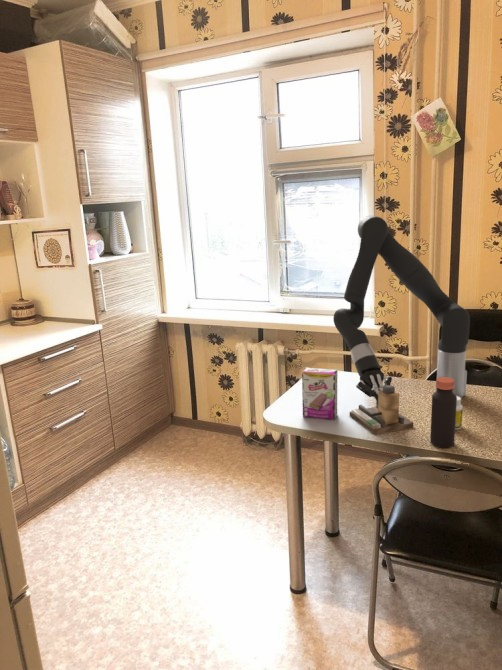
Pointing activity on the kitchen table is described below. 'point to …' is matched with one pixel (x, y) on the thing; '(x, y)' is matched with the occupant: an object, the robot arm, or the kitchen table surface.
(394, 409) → the block
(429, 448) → the kitchen table surface
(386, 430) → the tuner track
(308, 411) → the candy bar box
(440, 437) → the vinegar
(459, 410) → the supplement bottle
